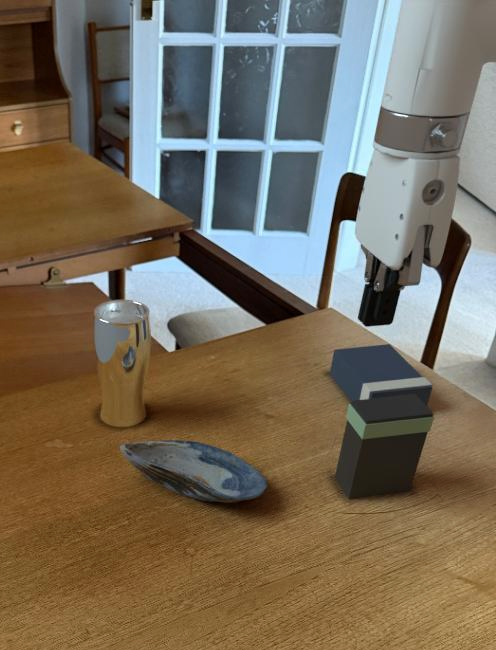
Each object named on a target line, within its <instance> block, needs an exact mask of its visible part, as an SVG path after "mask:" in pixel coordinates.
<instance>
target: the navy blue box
mask: <svg viewBox="0 0 496 650" xmlns="http://www.w3.org/2000/svg"><path fill="white" fill-rule="evenodd" d="M329 375H330V376H331V377H332V379H333V381H335V383H336V384H337V385H338V387H340V389H341V390H342V391H343V393H344V394H345V395H346V397H348V399H349V401H350V402H351V401H355V400H364V399H373V398H382V397H391V396H400V395H409V394H416V395H417V397H418V398H419V399H420V400H421V401H422V402H423V403H424V404H425V405H426V406H427V407H428V404H429V401H430V398H431V394H432V391H433V384H432V382H431V381H430V380H428V379H427V377H425V376H422V374H420V373H419V372H418V371H417V370H416V369H415V368H414V367H413V366H412V365H411V364H410V363H409V362H408V361H407V360H406V359H405V358H404V357H403V356H402V355H401V354H400V353H399V352H398V351H397V350H396V349H395V348H394V347H393V346H392V345H391V344H389V343H385V344H377V345H367V346H357V347H347V348H338V349H337V348H336V349H334V350H333V354H332V361H331V365H330V371H329Z"/></svg>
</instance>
